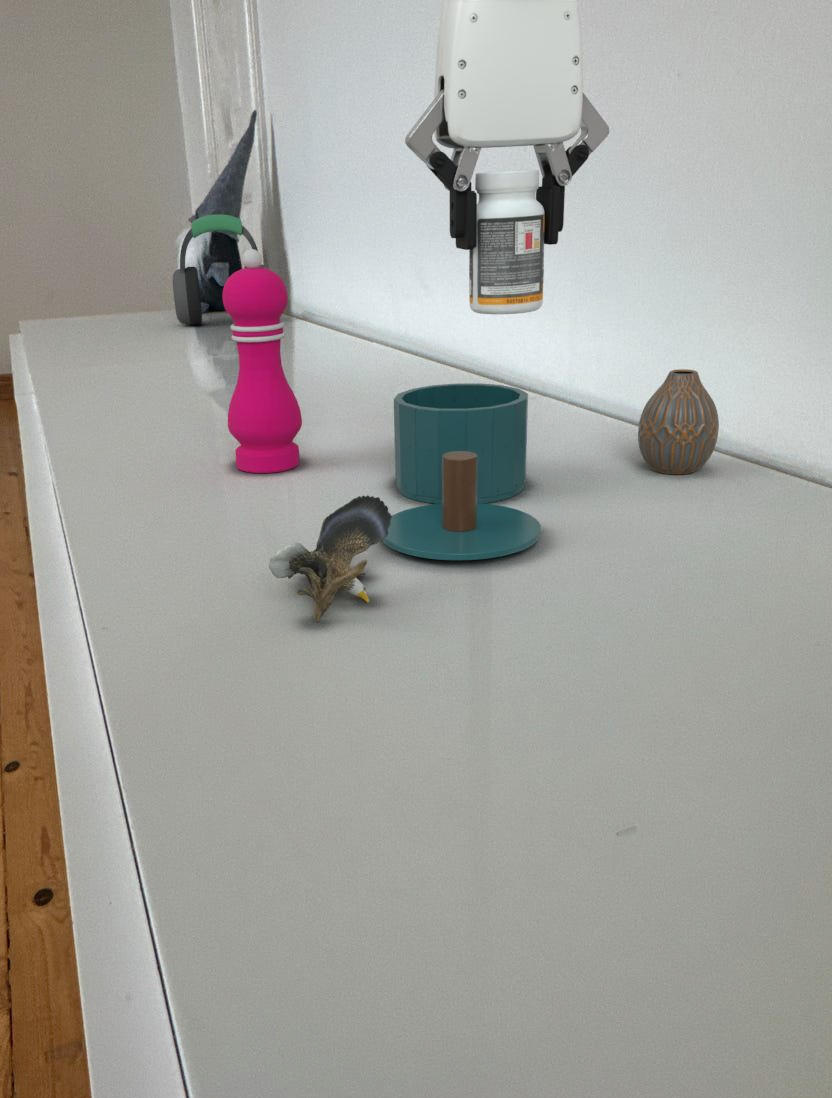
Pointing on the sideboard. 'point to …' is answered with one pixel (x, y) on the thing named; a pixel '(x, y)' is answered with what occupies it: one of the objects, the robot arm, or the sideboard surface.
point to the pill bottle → (507, 244)
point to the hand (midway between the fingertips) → (506, 243)
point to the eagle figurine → (336, 552)
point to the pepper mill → (260, 371)
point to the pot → (461, 438)
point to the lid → (461, 520)
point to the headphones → (188, 277)
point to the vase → (678, 425)
